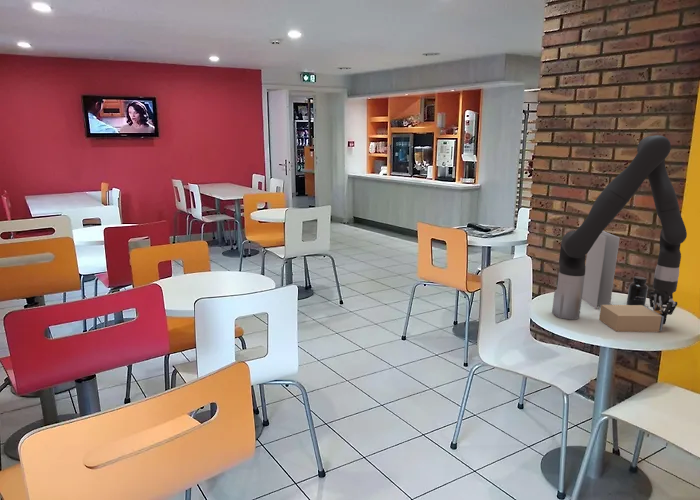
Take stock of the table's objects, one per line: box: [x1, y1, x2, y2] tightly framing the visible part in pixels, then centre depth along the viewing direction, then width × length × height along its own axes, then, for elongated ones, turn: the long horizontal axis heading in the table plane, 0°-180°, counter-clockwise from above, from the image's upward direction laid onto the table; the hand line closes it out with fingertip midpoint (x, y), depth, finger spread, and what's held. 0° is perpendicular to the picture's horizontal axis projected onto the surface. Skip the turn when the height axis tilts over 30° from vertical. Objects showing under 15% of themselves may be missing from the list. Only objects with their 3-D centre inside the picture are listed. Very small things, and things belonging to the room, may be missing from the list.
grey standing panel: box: [582, 230, 621, 310], centre depth 213 cm, size 14×6×30 cm, turn 179°
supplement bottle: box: [626, 275, 649, 306], centre depth 215 cm, size 7×7×12 cm
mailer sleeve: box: [598, 304, 662, 333], centre depth 191 cm, size 16×12×6 cm
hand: (658, 321), depth 192 cm, fingers closed on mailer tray, 3 cm apart
